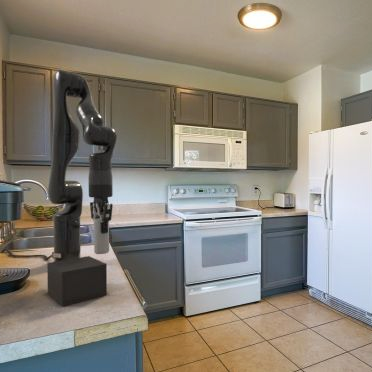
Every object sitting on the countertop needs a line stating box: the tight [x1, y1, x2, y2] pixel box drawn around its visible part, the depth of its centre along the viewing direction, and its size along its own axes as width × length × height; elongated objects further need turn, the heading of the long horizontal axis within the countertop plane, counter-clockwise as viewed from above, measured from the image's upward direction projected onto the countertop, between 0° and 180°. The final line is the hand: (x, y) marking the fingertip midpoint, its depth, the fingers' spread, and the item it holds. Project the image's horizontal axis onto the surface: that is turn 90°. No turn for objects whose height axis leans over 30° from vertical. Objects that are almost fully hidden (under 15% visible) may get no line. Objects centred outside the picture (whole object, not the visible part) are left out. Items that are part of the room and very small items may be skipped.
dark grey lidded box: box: [46, 255, 108, 307], centre depth 92 cm, size 14×12×9 cm
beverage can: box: [93, 218, 110, 255], centre depth 109 cm, size 5×5×12 cm
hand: (101, 232), depth 109 cm, fingers closed on beverage can, 5 cm apart
